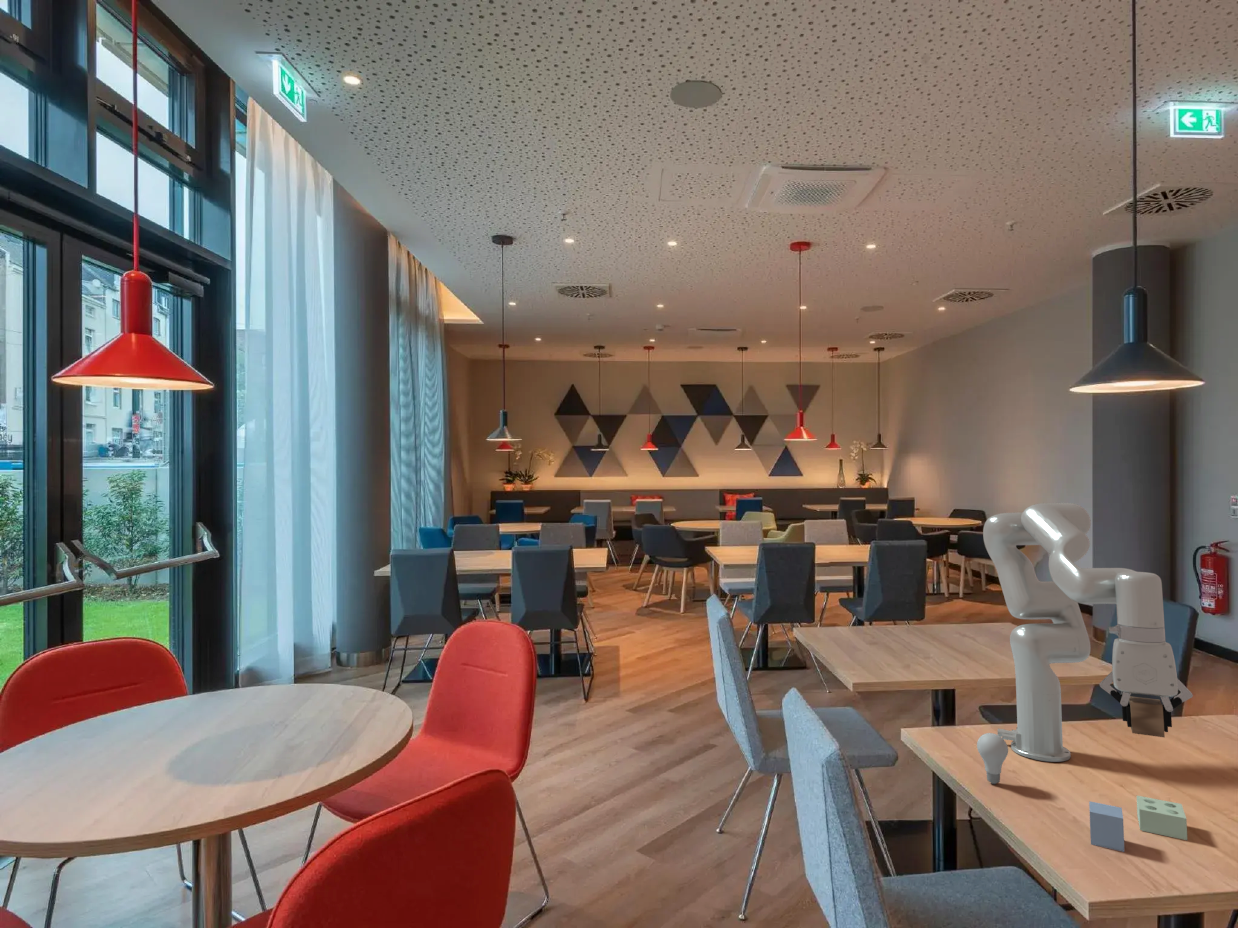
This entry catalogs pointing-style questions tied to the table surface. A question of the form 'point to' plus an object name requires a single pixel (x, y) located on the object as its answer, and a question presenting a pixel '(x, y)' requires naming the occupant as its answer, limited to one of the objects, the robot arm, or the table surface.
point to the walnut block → (1147, 716)
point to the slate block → (1106, 826)
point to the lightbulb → (992, 755)
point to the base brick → (1161, 817)
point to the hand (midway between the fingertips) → (1147, 726)
